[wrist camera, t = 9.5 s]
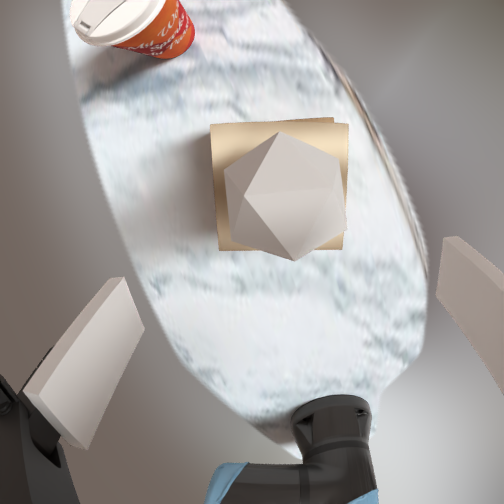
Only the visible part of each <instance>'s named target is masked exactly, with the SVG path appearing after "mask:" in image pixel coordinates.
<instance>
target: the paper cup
mask: <svg viewBox="0 0 504 504" xmlns="http://www.w3.org/2000/svg"><path fill="white" fill-rule="evenodd" d="M70 19H71V23H72V26H73V27H74V28H75V30H76V33H77V34H78V36H79V37H80V38H81V39H82V40H83V41H84V42H86V43H88V44H90V45H94V46H101V47H102V46H113V47H117V48H122V49H126V50H131V51H135V52H138V53H142V54H146V55H149V56H153V57H157V58H162V59H169V58H174V57H177V56H179V55H181V54H182V53H184V52H185V51H186V50H187V49H188V48H189V47H190V46H191V44H192V42H193V40H194V36H195V29H194V26H193V23H192V21H191V19H190V18H189V16H188V14H187V13H186V11H185V9H184V8H183V6H182V5H181V3H180V1H179V0H72V3H71V8H70Z"/></svg>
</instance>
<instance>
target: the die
mask: <svg viewBox="0 0 504 504" xmlns="http://www.w3.org/2000/svg"><path fill="white" fill-rule="evenodd" d="M224 176H225V186H226V196H227V206H228V215H229V225H230V234H231V241H233V242H236V243H239V244H242V245H245V246H248V247H252V248H255V249H258V250H261V251H264V252H267V253H270V254H273V255H277V256H280V257H283V258H286V259H289V260H292V261H296V260H298V259H299V258H301V257H303V256H304V255H306V254H308V253H309V252H311V251H313V250H314V249H316V248H318V247H319V246H321V245H323V244H324V243H326V242H328V241H329V240H331V239H333V238H334V237H336V236H337V235H339V234H341V233H342V232H344V231H346V230H347V220H346V211H345V202H344V194H343V186H342V178H341V171H340V164H339V159H338V158H336V157H334V156H332V155H330V154H328V153H326V152H324V151H322V150H320V149H318V148H316V147H314V146H311V145H309V144H307V143H305V142H303V141H301V140H299V139H296V138H294V137H292V136H290V135H287V134H285V133H283V132H280V131H279V132H278V133H276V134H275V135H273V136H272V137H270V138H269V139H267V140H266V141H264V142H263V143H261V144H260V145H258V146H257V147H255V148H254V149H253V150H251V151H250V152H248V153H247V154H245V155H244V156H243V157H241V158H240V159H238V160H237V161H236V162H234V163H233V164H231V165H230V166H229V167H227V168H226V169H224Z"/></svg>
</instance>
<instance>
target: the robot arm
mask: <svg viewBox="0 0 504 504" xmlns="http://www.w3.org/2000/svg"><path fill="white" fill-rule="evenodd" d="M435 296H436V297H437V298H438V300H439V301H440V302H441V303H442V305H443V306H444V307H445V309H446V310H447V311H448V313H449V314H450V315H451V317H452V318H453V319H454V321H455V322H456V323H457V325H458V326H459V327H460V329H461V330H462V332H463V333H464V334H465V336H466V337H467V339H468V340H469V342H470V343H471V345H472V346H473V347H474V349H475V350H476V352H477V353H478V355H479V356H480V358H481V359H482V361H483V362H484V364H485V366H486V367H487V369H488V370H489V372H490V373H491V375H492V377H493V378H494V380H495V381H496V383H497V384H498V386H499V388H500V390H501V391H502V393H503V395H504V274H503V273H502V272H501V271H500V270H499V269H497V268H496V267H495V266H494V265H493V264H492V263H491V262H490V261H488V260H487V259H486V258H485V257H483V256H482V255H481V254H480V253H479V252H477V251H476V250H475V249H474V248H472V247H471V246H470V245H469V244H467V243H466V242H465V241H463V240H462V239H460V238H459V237H458V236H454V237H446V238H443V246H442V256H441V264H440V271H439V277H438V284H437V290H436V295H435ZM144 330H145V328H144V326H143V324H142V321H141V319H140V316H139V314H138V311H137V309H136V306H135V304H134V301H133V299H132V296H131V294H130V291H129V288H128V285H127V283H126V280H125V277H117V278H110V279H109V280H108V281H107V282H106V283H105V284H104V285H103V287H102V288H101V289H100V290H99V291H98V292H97V294H96V295H95V296H94V297H93V299H92V300H91V301H90V302H89V303H88V305H87V306H86V307H85V308H84V309H83V310H82V312H81V313H80V314H79V315H78V317H77V318H76V319H75V320H74V322H73V323H72V324H71V325H70V327H69V328H68V329H67V330H66V332H65V333H64V335H63V336H62V337H61V338H60V340H59V341H58V342H57V344H56V345H54V346H53V347H52V348H51V349H50V350H49V351H48V352H47V354H46V355H45V356H44V358H43V361H41V362H40V363H39V365H38V366H37V367H38V368H36V369H35V370H34V371H33V373H32V374H31V376H30V377H29V378H28V380H27V381H26V383H25V384H24V386H23V387H22V389H21V390H20V392H19V393H18V394H17V395H16V393H15V392H14V391H13V389H12V388H11V387H10V385H9V384H8V383H7V381H6V380H5V379H4V377H3V376H2V375H0V504H80V502H79V499H78V496H77V494H76V491H75V488H74V485H73V482H72V479H71V475H70V472H69V469H68V465H67V462H66V458H65V455H64V450H63V448H62V446H61V444H60V443H59V442H58V440H59V438H60V436H62V437H63V438H64V439H65V441H66V442H67V443H68V444H69V445H71V446H74V447H77V448H80V449H84V450H88V448H89V445H90V443H91V441H92V438H93V436H94V434H95V432H96V429H97V427H98V425H99V423H100V421H101V418H102V416H103V414H104V412H105V410H106V407H107V405H108V403H109V401H110V399H111V397H112V395H113V392H114V390H115V388H116V386H117V384H118V382H119V380H120V378H121V376H122V374H123V372H124V370H125V368H126V366H127V364H128V362H129V359H130V357H131V356H132V354H133V351H134V350H135V348H136V346H137V344H138V342H139V340H140V338H141V336H142V334H143V332H144ZM371 420H372V415H371V411H370V407H369V404H368V403H367V402H366V401H365V400H364V399H362V398H360V397H356V396H351V395H335V396H329V397H324V398H320V399H317V400H314V401H312V402H310V403H307V404H306V405H304V406H302V407H301V408H299V409H298V410H297V411H296V412H295V413H294V415H293V416H292V419H291V431H292V435H293V437H294V439H295V441H296V443H297V446H298V448H299V450H300V452H301V454H302V458H303V464H250V463H249V462H245V463H223V464H221V465H220V466H218V467H217V469H216V470H215V472H214V474H213V476H212V478H211V481H210V484H209V486H208V490H207V493H206V497H205V501H204V504H379V502H378V489H377V485H376V480H375V475H374V470H373V465H372V460H371V455H370V451H369V446H368V440H369V434H370V427H371Z"/></svg>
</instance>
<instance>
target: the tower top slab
mask: <svg viewBox="0 0 504 504" xmlns="http://www.w3.org/2000/svg"><path fill="white" fill-rule="evenodd" d="M279 131H280V132H283V133H285V134H287V135H290V136H292V137H294V138H296V139H299V140H301V141H303V142H305V143H307V144H309V145H311V146H314V147H316V148H318V149H320V150H322V151H324V152H326V153H328V154H330V155H332V156H334V157H336V158H338V159H339V164H340V171H341V178H342V186H343V194H344V202H345V210H346V193H347V172H348V124H343V123H328V122H289V121H279V122H240V123H222V124H211V125H210V133H211V150H212V166H213V181H214V195H215V208H216V221H217V233H218V245H219V251H250V250H258V249H255V248H252V247H248V246H245V245H242V244H239V243H236V242H233V241H231V234H230V225H229V215H228V206H227V196H226V186H225V176H224V169H226V168H227V167H229V166H230V165H231V164H233V163H234V162H236V161H237V160H238V159H240V158H241V157H243V156H244V155H245V154H247V153H248V152H250V151H251V150H253V149H254V148H255V147H257V146H258V145H260V144H261V143H263V142H264V141H266V140H267V139H269V138H270V137H272V136H273V135H275V134H276V133H278V132H279ZM343 236H344V232H342V233H341V234H339V235H337V236H336V237H334V238H333V239H331V240H329V241H328V242H326V243H324V244H323V245H321V246H319V247H318V248H316V249H314V250H342V247H343Z"/></svg>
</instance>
